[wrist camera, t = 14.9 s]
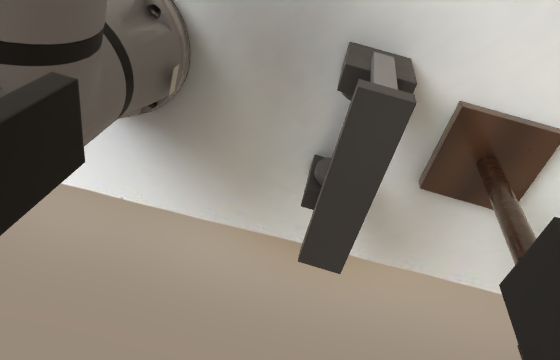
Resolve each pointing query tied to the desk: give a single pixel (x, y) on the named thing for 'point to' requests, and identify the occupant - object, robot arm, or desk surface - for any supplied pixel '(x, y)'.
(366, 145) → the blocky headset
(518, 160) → the stand
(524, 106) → the desk surface
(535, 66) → the desk surface
